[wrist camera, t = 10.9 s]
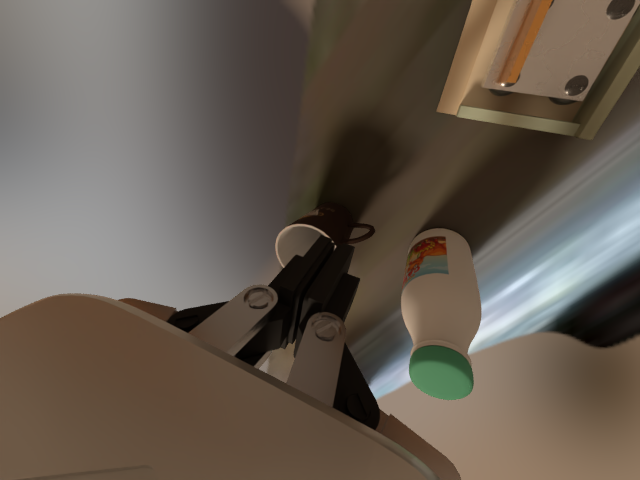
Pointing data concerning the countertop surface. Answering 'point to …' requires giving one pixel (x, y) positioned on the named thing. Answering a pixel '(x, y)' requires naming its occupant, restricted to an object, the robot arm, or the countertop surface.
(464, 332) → the milk bottle
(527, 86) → the cart
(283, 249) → the coffee mug
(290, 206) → the countertop surface
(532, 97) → the dock
